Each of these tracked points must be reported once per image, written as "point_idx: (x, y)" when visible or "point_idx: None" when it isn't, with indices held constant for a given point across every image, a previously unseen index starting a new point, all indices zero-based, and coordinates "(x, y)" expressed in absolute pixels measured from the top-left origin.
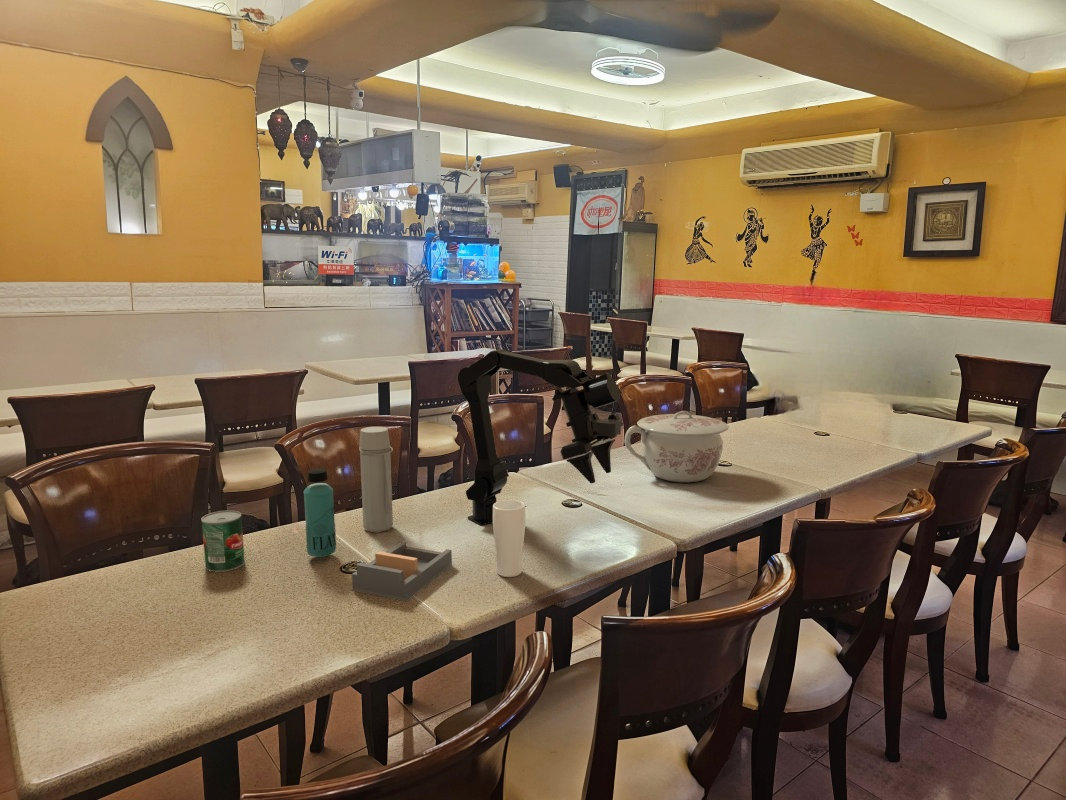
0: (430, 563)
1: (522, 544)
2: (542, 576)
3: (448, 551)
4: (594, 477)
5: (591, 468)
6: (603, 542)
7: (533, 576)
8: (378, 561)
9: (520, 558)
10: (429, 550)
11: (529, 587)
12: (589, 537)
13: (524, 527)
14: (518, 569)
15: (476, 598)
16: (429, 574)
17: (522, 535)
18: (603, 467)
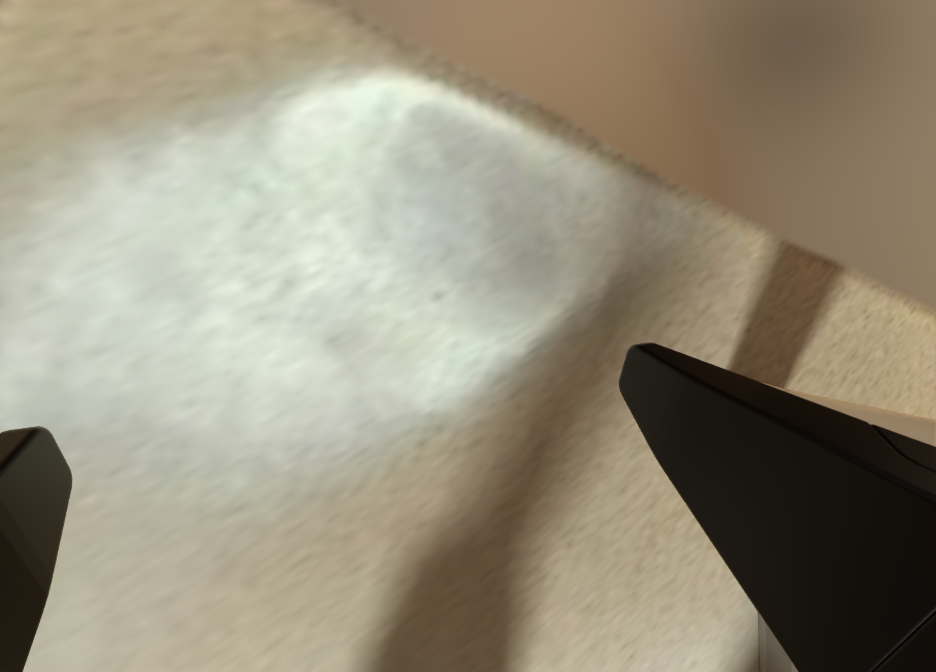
0: None
1: (850, 407)
2: (723, 317)
3: None
4: (678, 365)
5: (856, 430)
6: (327, 285)
7: (732, 342)
8: None
9: (802, 393)
10: (792, 667)
11: (793, 307)
12: (308, 375)
13: (930, 429)
14: (772, 385)
15: (878, 385)
16: None
17: (903, 415)
18: (38, 592)
